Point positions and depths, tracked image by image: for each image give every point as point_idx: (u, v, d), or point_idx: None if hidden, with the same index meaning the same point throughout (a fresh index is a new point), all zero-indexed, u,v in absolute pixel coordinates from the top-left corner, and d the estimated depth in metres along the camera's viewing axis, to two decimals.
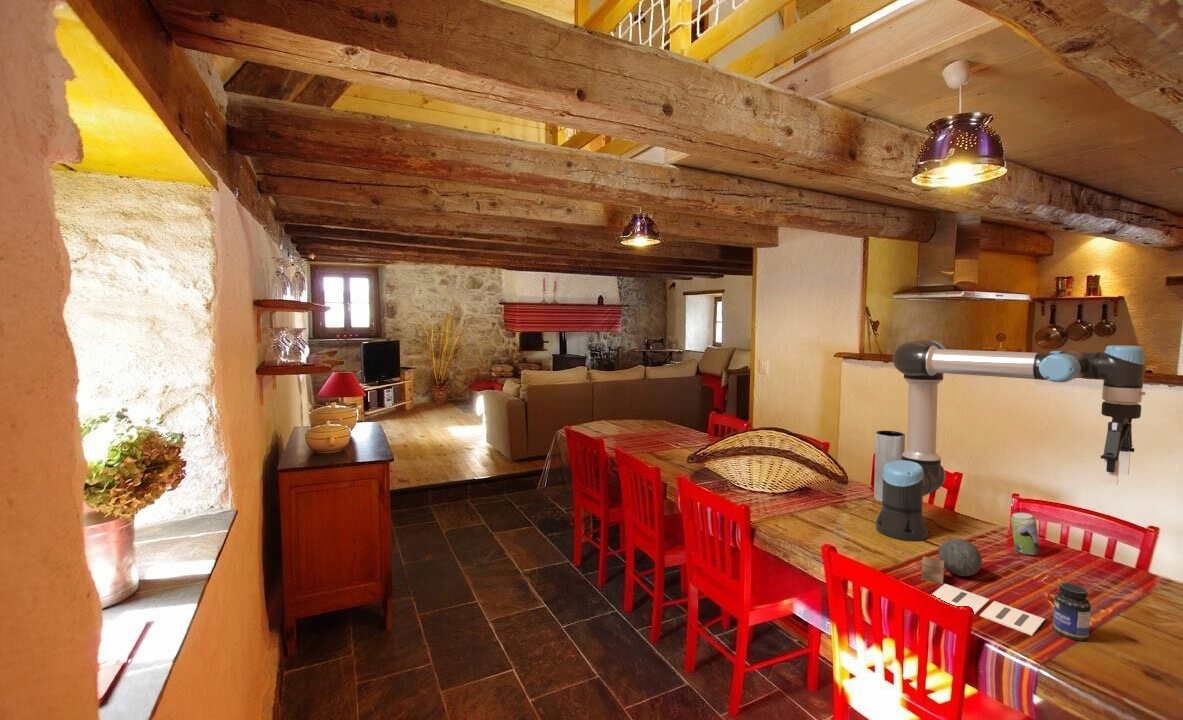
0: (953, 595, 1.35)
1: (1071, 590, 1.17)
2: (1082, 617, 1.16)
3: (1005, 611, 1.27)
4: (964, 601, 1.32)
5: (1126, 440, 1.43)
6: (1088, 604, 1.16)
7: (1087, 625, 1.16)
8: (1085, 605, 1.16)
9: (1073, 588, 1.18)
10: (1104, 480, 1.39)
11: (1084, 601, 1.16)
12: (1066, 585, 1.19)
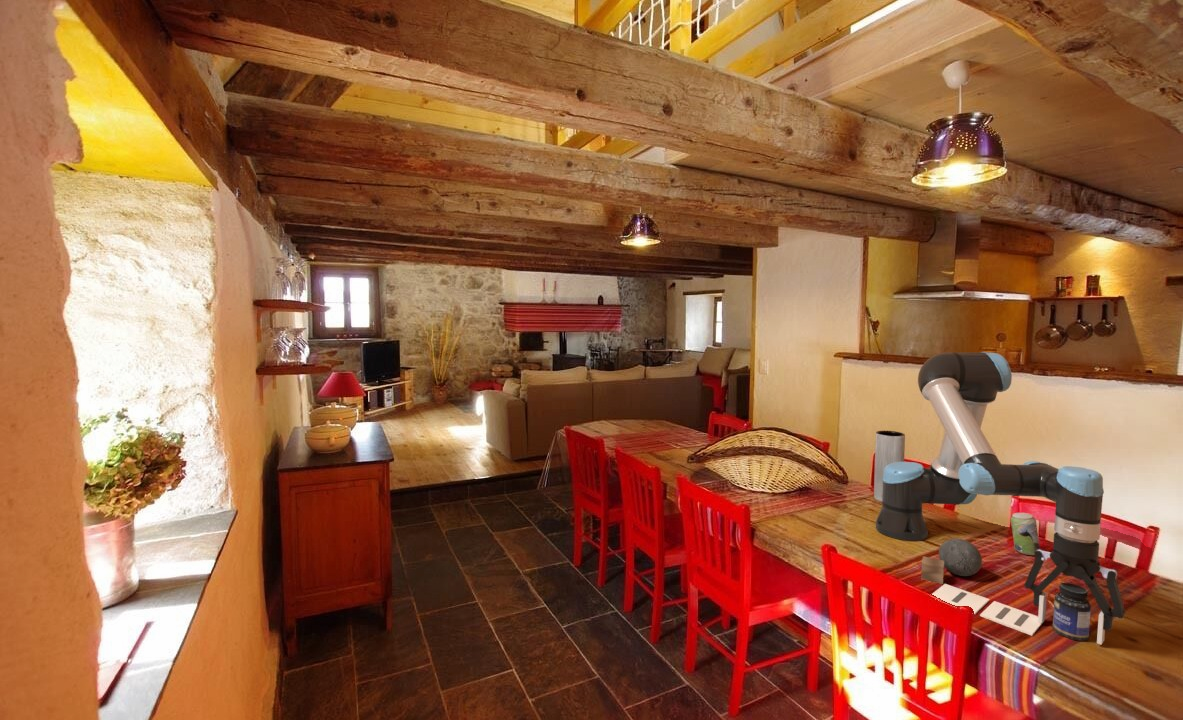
0: (953, 595, 1.35)
1: (1071, 590, 1.17)
2: (1082, 617, 1.16)
3: (1005, 611, 1.27)
4: (964, 601, 1.32)
5: None
6: (1088, 604, 1.16)
7: (1087, 625, 1.16)
8: (1085, 605, 1.16)
9: (1073, 588, 1.18)
10: None
11: (1084, 601, 1.16)
12: (1066, 585, 1.19)
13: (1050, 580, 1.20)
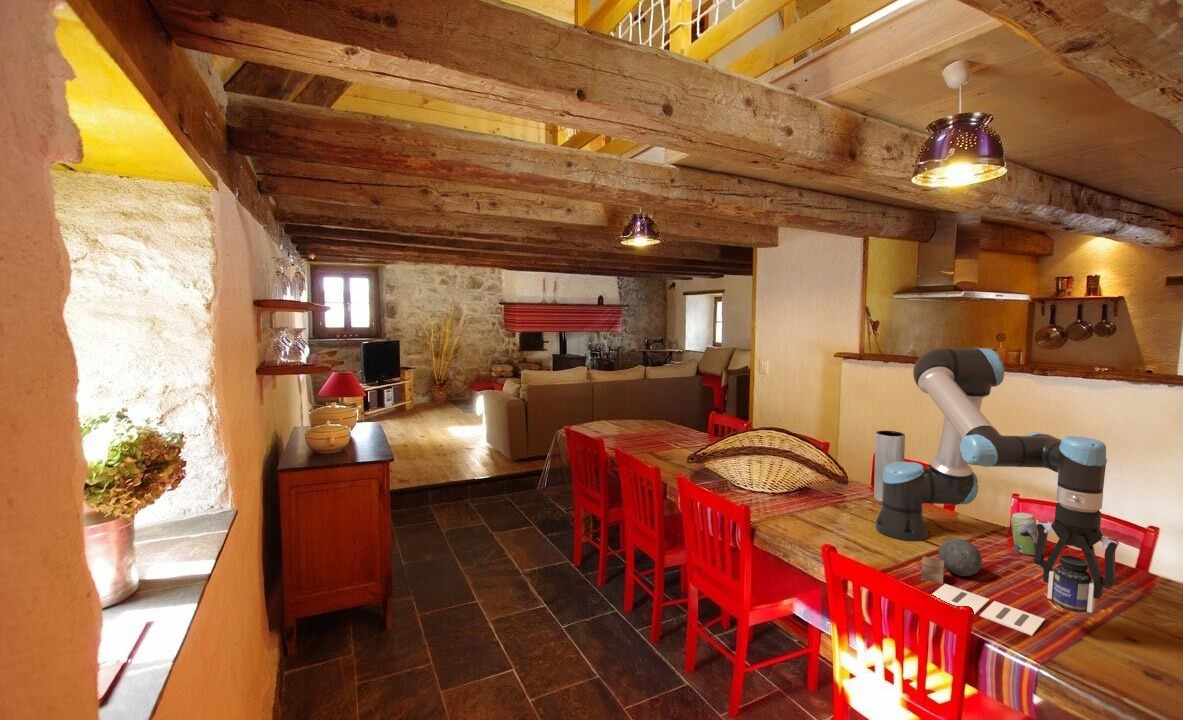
0: (953, 595, 1.35)
1: (1072, 562, 1.17)
2: (1082, 589, 1.16)
3: (1005, 611, 1.27)
4: (964, 601, 1.32)
5: None
6: (1088, 576, 1.16)
7: (1087, 597, 1.16)
8: (1085, 577, 1.15)
9: (1074, 560, 1.18)
10: None
11: (1084, 573, 1.16)
12: (1066, 557, 1.19)
13: (1056, 553, 1.19)
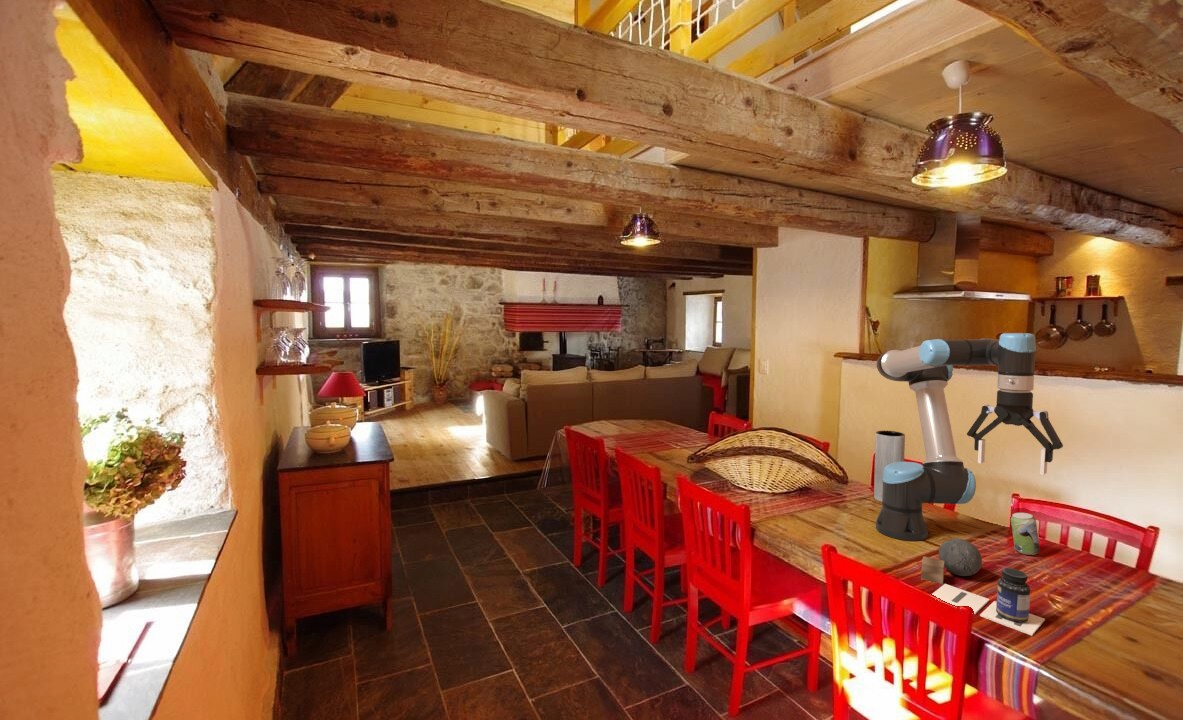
0: (953, 595, 1.35)
1: (1012, 574, 1.23)
2: (1021, 600, 1.22)
3: None
4: (964, 601, 1.32)
5: None
6: (1027, 588, 1.22)
7: (1026, 608, 1.22)
8: (1024, 589, 1.22)
9: (1014, 572, 1.24)
10: None
11: (1024, 585, 1.23)
12: (1008, 570, 1.26)
13: (990, 428, 1.43)
